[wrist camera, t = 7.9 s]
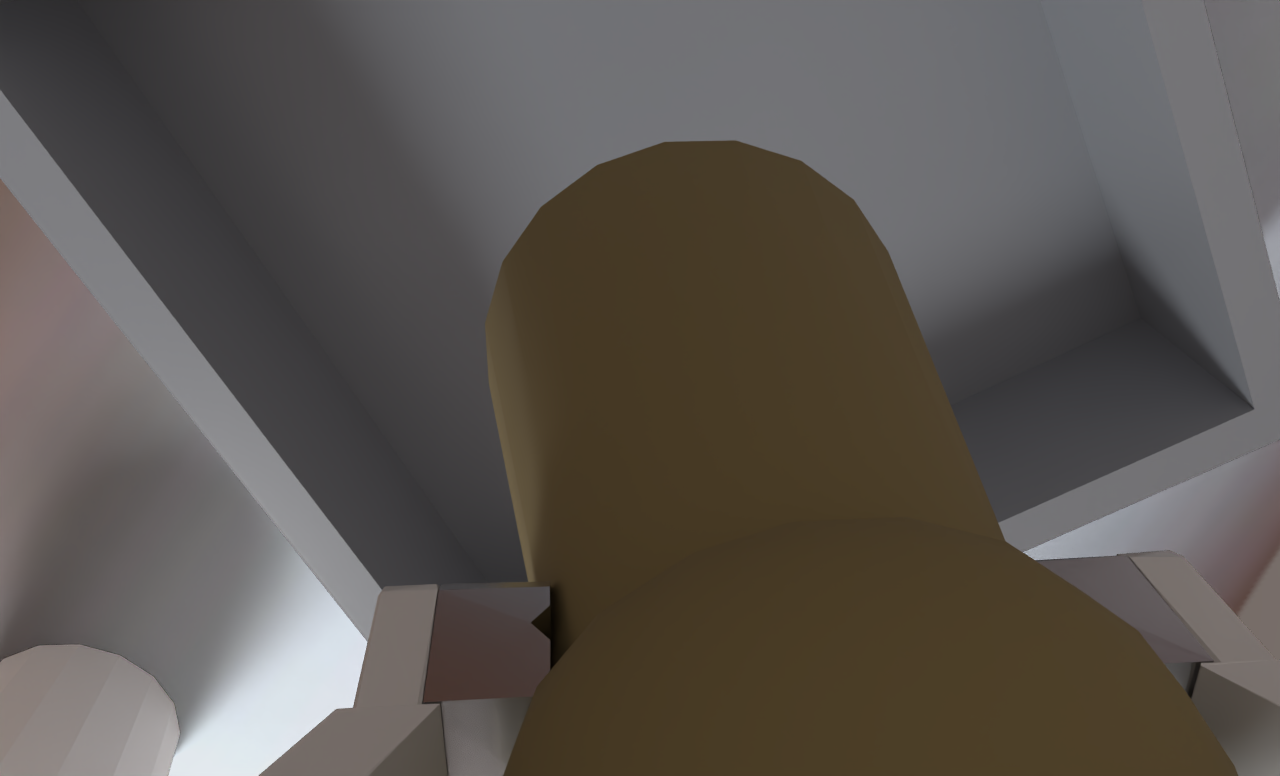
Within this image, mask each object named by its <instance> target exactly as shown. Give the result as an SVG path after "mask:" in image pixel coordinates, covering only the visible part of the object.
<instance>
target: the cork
mask: <svg viewBox="0 0 1280 776" xmlns="http://www.w3.org/2000/svg"><path fill="white" fill-rule="evenodd" d="M485 333H486V348H487V363H488V378H489V387H490V392H491V397H492V402H493V407H494V412H495V417H496V422H497V427H498V432H499V437H500V442H501V447H502V452H503V458H504V463H505V468H506V473H507V478H508V483H509V488H510V493H511V498H512V503H513V508H514V513H515V518H516V523H517V528H518V533H519V538H520V543H521V548H522V553H523V558H524V563H525V568H526V573H527V578H528V582H541V581H550V587H551V615H552V651H553V652H552V667H553V668H552V669H551V670H550V671H549V673H548V674H547V675H546V676H545V677H544V679H543V680H542V681H541V682H540V683H539V684H538V686H537V687H536V690H535V693H534V695H533V698H532V700H531V703H530V705H529V708H528V710H527V713H526V715H525V718H524V721H523V723H522V726H521V728H520V731H519V733H518V736H517V738H516V741H515V744H514V747H513V750H512V752H511V755H510V758H509V761H508V764H507V766H506V769H505V772H504V775H503V776H1238V773H1237V771H1236V768H1235V766H1234V764H1233V763H1232V761H1231V760H1230V758H1229V757H1228V755H1227V754H1226V752H1225V751H1224V749H1223V748H1222V746H1221V744H1220V743H1219V741H1218V740H1217V738H1216V737H1215V735H1214V734H1213V732H1212V731H1211V729H1210V728H1209V726H1208V725H1207V723H1206V722H1205V720H1204V719H1203V717H1202V716H1201V714H1200V712H1199V711H1198V709H1197V708H1196V706H1195V705H1194V703H1193V702H1192V700H1191V699H1190V697H1189V696H1188V694H1187V693H1186V691H1185V690H1184V688H1183V687H1182V686H1181V685H1180V683H1179V682H1178V681H1177V680H1176V678H1175V677H1174V676H1173V674H1172V673H1171V672H1170V671H1169V669H1168V668H1167V667H1166V666H1165V664H1164V663H1163V662H1162V660H1161V659H1160V658H1159V657H1158V655H1157V654H1156V653H1155V652H1154V650H1153V649H1152V648H1151V646H1150V645H1149V644H1148V643H1147V641H1146V640H1145V639H1144V638H1143V636H1142V635H1141V634H1140V632H1139V631H1138V630H1136V629H1135V628H1134V627H1132V626H1131V625H1129V624H1128V623H1126V622H1125V621H1124V620H1122V619H1121V618H1119V617H1118V616H1117V615H1115V614H1114V613H1112V612H1111V611H1110V610H1108V609H1107V608H1105V607H1104V606H1102V605H1101V604H1100V603H1098V602H1097V601H1095V600H1094V599H1093V598H1091V597H1090V596H1088V595H1087V594H1085V593H1084V592H1083V591H1081V590H1080V589H1078V588H1077V587H1075V586H1074V585H1072V584H1070V583H1069V582H1067V581H1066V580H1064V579H1063V578H1061V577H1060V576H1058V575H1057V574H1055V573H1054V572H1052V571H1050V570H1049V569H1047V568H1046V567H1044V566H1043V565H1041V564H1040V563H1038V562H1037V561H1035V560H1034V559H1032V558H1030V557H1029V556H1027V555H1026V554H1024V553H1023V552H1021V551H1020V550H1018V549H1017V548H1015V547H1014V546H1012V545H1010V544H1009V543H1007V542H1006V541H1005V539H1004V536H1003V534H1002V531H1001V529H1000V526H999V524H998V521H997V519H996V516H995V514H994V511H993V509H992V506H991V504H990V501H989V499H988V497H987V494H986V492H985V489H984V487H983V484H982V482H981V479H980V477H979V474H978V472H977V469H976V467H975V464H974V462H973V460H972V457H971V455H970V452H969V450H968V447H967V445H966V442H965V440H964V437H963V435H962V432H961V430H960V427H959V425H958V422H957V420H956V418H955V415H954V413H953V410H952V408H951V405H950V403H949V400H948V398H947V395H946V393H945V390H944V388H943V385H942V383H941V380H940V378H939V376H938V373H937V371H936V368H935V366H934V363H933V361H932V358H931V356H930V353H929V351H928V348H927V346H926V343H925V341H924V338H923V336H922V334H921V331H920V329H919V326H918V324H917V321H916V319H915V316H914V314H913V311H912V309H911V306H910V304H909V301H908V299H907V297H906V294H905V292H904V289H903V287H902V284H901V282H900V279H899V277H898V274H897V272H896V269H895V267H894V264H893V262H892V259H891V257H890V255H889V252H888V250H887V249H886V247H885V246H884V244H883V243H882V241H881V240H880V238H879V237H878V235H877V234H876V232H875V231H874V229H873V228H872V226H871V225H870V223H869V222H868V220H867V219H866V217H865V216H864V214H863V213H862V211H861V210H860V208H859V207H858V205H857V204H856V202H855V201H854V199H852V198H851V197H850V196H848V195H847V194H846V193H844V192H843V191H842V190H840V189H839V188H837V187H836V186H835V185H833V184H832V183H831V182H829V181H828V180H827V179H825V178H824V177H823V176H821V175H820V174H819V173H817V172H816V171H815V170H813V169H812V168H810V167H809V166H808V165H806V164H805V163H804V162H802V161H800V160H797V159H794V158H791V157H788V156H784V155H781V154H778V153H775V152H772V151H768V150H765V149H762V148H759V147H756V146H752V145H749V144H746V143H743V142H739V141H736V140H728V141H675V142H662V143H660V144H657V145H654V146H651V147H648V148H645V149H642V150H639V151H636V152H633V153H630V154H627V155H624V156H622V157H619V158H616V159H613V160H610V161H607V162H604V163H601V164H598V165H596V166H595V167H594V168H592V169H591V170H590V171H588V172H587V173H586V174H584V175H583V176H581V177H580V178H579V179H577V180H576V181H575V182H573V183H572V184H571V185H569V186H568V187H567V188H565V189H564V190H563V191H561V192H560V193H559V194H557V195H556V196H555V197H553V198H552V199H551V200H549V201H548V202H547V203H545V204H544V205H543V206H541V207H540V209H539V210H538V212H537V213H536V214H535V216H534V217H533V219H532V220H531V222H530V223H529V224H528V226H527V227H526V229H525V230H524V232H523V233H522V234H521V236H520V237H519V239H518V240H517V242H516V243H515V244H514V246H513V247H512V249H511V250H510V252H509V253H508V255H507V256H506V257H505V259H504V260H503V262H502V265H501V268H500V272H499V275H498V279H497V282H496V286H495V289H494V293H493V296H492V300H491V303H490V307H489V310H488V314H487V317H486V321H485Z"/></svg>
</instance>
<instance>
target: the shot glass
mask: <svg viewBox="0 0 1280 776" xmlns="http://www.w3.org/2000/svg"><path fill="white" fill-rule="evenodd" d="M179 736H180V729H179V724H178V719H177V714H176V710H175V705H174V703H173V701H172V700H171V699H170V697H169V696H168V695H167V693H166V692H165V691H164V690H163V688H162V687H161V686H160V684H159V683H158V682H157V680H156V679H155V678H154V677H153V676H152V675H151V674H149V673H147V672H146V671H144V670H143V669H141V668H139V667H138V666H136V665H135V664H133V663H132V662H130V661H128V660H127V659H125V658H124V657H122V656H120V655H117V654H114V653H110V652H106V651H103V650H99V649H95V648H91V647H88V646H84V645H80V644H71V645H38V646H36V647H33V648H30V649H28V650H25V651H22V652H20V653H17V654H15V655H12V656H9V657H7V658H4V659H3V660H2V661H1V662H0V776H168V775H169V771H170V768H171V764H172V761H173V757H174V753H175V750H176V746H177V743H178V739H179Z"/></svg>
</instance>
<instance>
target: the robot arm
mask: <svg viewBox="0 0 1280 776" xmlns="http://www.w3.org/2000/svg"><path fill="white" fill-rule="evenodd" d="M1035 561H1037V562H1038V563H1040V564H1041V565H1043V566H1044V567H1046V568H1047V569H1049V570H1050V571H1052V572H1054V573H1055V574H1057V575H1058V576H1060V577H1061V578H1063V579H1064V580H1066V581H1067V582H1069V583H1070V584H1072V585H1074V586H1075V587H1077V588H1078V589H1080V590H1081V591H1083V592H1084V593H1085V594H1087V595H1088V596H1090V597H1091V598H1093V599H1094V600H1095V601H1097V602H1098V603H1100V604H1101V605H1102V606H1104V607H1105V608H1107V609H1108V610H1110V611H1111V612H1112V613H1114V614H1115V615H1117V616H1118V617H1119V618H1121V619H1122V620H1124V621H1125V622H1126V623H1128V624H1129V625H1131V626H1132V627H1134V628H1135V629H1136V630H1138V631H1139V632H1140V634H1141V635H1142V636H1143V638H1144V639H1145V640H1146V641H1147V643H1148V644H1149V645H1150V646H1151V648H1152V649H1153V650H1154V652H1155V653H1156V654H1157V655H1158V657H1159V658H1160V659H1161V660H1162V662H1163V663H1164V664H1165V666H1166V667H1167V668H1168V669H1169V671H1170V672H1171V673H1172V674H1173V676H1174V677H1175V678H1176V680H1177V681H1178V682H1179V683H1180V685H1181V686H1182V687H1183V688H1184V690H1185V691H1186V693H1187V694H1188V696H1189V697H1190V699H1191V700H1192V702H1193V703H1194V705H1195V706H1196V708H1197V709H1198V711H1199V712H1200V714H1201V716H1202V717H1203V719H1204V720H1205V722H1206V723H1207V725H1208V726H1209V728H1210V729H1211V731H1212V732H1213V734H1214V735H1215V737H1216V738H1217V740H1218V741H1219V743H1220V744H1221V746H1222V748H1223V749H1224V751H1225V752H1226V754H1227V755H1228V757H1229V758H1230V760H1231V761H1232V763H1233V764H1234V766H1235V768H1236V771H1237V773H1238V776H1280V659H1279V660H1277V659H1276V658H1275V657H1274V656H1273V655H1272V654H1271V653H1270V652H1269V651H1268V650H1267V648H1266V647H1265V646H1264V645H1263V644H1262V643H1261V642H1260V641H1259V640H1258V638H1257V637H1256V636H1255V635H1254V634H1253V633H1252V632H1251V631H1250V630H1249V629H1248V627H1246V625H1245V624H1244V623H1243V622H1242V621H1241V620H1240V619H1239V617H1238V616H1237V615H1236V614H1235V613H1234V612H1233V611H1232V610H1231V609H1230V608H1229V606H1228V605H1227V604H1226V603H1225V602H1224V601H1223V600H1222V599H1221V598H1220V596H1219V595H1218V594H1217V593H1216V592H1215V591H1214V590H1213V589H1212V588H1211V587H1210V585H1209V584H1208V583H1207V582H1206V581H1205V580H1204V579H1203V578H1202V577H1201V575H1200V574H1199V573H1198V572H1197V571H1196V570H1195V569H1194V568H1193V567H1192V566H1191V564H1190V563H1189V562H1188V561H1187V560H1186V559H1185V558H1184V557H1183V556H1181V555H1179V554H1177V553H1175V552H1172V551H1170V550H1167V551H1154V552H1140V553H1127V554H1117V555H1116V556H1104V557H1086V558H1068V559H1050V560H1035ZM552 652H553V651H552V615H551V587H550V581H541V582H500V583H459V584H441V586H439V585H437V584H426V585H404V586H385V587H384V588H383V590H382V591H381V592H380V594H379V595H378V599H377V603H376V607H375V612H374V616H373V621H372V625H371V630H370V634H369V639H368V643H367V648H366V652H365V657H364V661H363V665H362V670H361V674H360V679H359V683H358V688H357V692H356V697H355V701H354V706H353V708H344V709H336V710H334V711H333V712H332V713H331V714H330V715H329V716H327V717H326V718H325V719H324V720H323V721H322V722H320V723H319V724H318V725H317V726H316V727H315V728H313V729H312V730H311V731H310V732H309V733H308V734H306V735H305V736H304V737H303V738H302V739H301V740H299V741H298V742H297V743H296V744H295V745H294V746H292V747H291V748H290V749H289V750H288V751H287V752H285V753H284V754H283V755H282V756H281V757H280V758H278V759H277V760H276V761H275V762H274V763H273V764H272V765H270V766H269V767H268V768H267V769H266V770H265V771H263V772H262V773H261V774H260V775H259V776H503V775H504V772H505V769H506V766H507V764H508V761H509V758H510V755H511V752H512V750H513V747H514V744H515V741H516V738H517V736H518V733H519V731H520V728H521V726H522V723H523V721H524V718H525V715H526V713H527V710H528V708H529V705H530V703H531V700H532V698H533V695H534V693H535V690H536V687H537V686H538V684H539V683H540V682H541V681H542V680H543V679H544V677H545V676H546V675H547V674H548V673H549V671H550V670H551V669H552V668H553V667H552Z"/></svg>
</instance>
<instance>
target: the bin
mask: <svg viewBox="0 0 1280 776" xmlns="http://www.w3.org/2000/svg"><path fill="white" fill-rule="evenodd" d="M728 140H736V141H739V142H743V143H746V144H749V145H752V146H756V147H759V148H762V149H765V150H768V151H772V152H775V153H778V154H781V155H784V156H788V157H791V158H794V159H797V160H800V161H802V162H804V163H805V164H806V165H808V166H809V167H810V168H812V169H813V170H815V171H816V172H817V173H819V174H820V175H821V176H823V177H824V178H825V179H827V180H828V181H829V182H831V183H832V184H833V185H835V186H836V187H837V188H839V189H840V190H842V191H843V192H844V193H846V194H847V195H848V196H850V197H851V198H852V199H854V201H855V202H856V204H857V205H858V207H859V208H860V210H861V211H862V213H863V214H864V216H865V217H866V219H867V220H868V222H869V223H870V225H871V226H872V228H873V229H874V231H875V232H876V234H877V235H878V237H879V238H880V240H881V241H882V243H883V244H884V246H885V247H886V249H887V250H888V252H889V255H890V257H891V259H892V262H893V264H894V267H895V269H896V272H897V274H898V277H899V279H900V282H901V284H902V287H903V289H904V292H905V294H906V297H907V299H908V301H909V304H910V306H911V309H912V311H913V314H914V316H915V319H916V321H917V324H918V326H919V329H920V331H921V334H922V336H923V338H924V341H925V343H926V346H927V348H928V351H929V353H930V356H931V358H932V361H933V363H934V366H935V368H936V371H937V373H938V376H939V378H940V380H941V383H942V385H943V388H944V390H945V393H946V395H947V398H948V400H949V403H950V405H951V408H952V410H953V413H954V415H955V418H956V420H957V422H958V425H959V427H960V430H961V432H962V435H963V437H964V440H965V442H966V445H967V447H968V450H969V452H970V455H971V457H972V460H973V462H974V464H975V467H976V469H977V472H978V474H979V477H980V479H981V482H982V484H983V487H984V489H985V492H986V494H987V497H988V499H989V501H990V504H991V506H992V509H993V511H994V514H995V516H996V519H997V521H998V524H999V526H1000V529H1001V531H1002V534H1003V536H1004V539H1005V541H1006V542H1007V543H1009V544H1010V545H1012V546H1014V547H1015V548H1017V549H1018V550H1020V551H1021V552H1024V551H1027V550H1029V549H1031V548H1033V547H1036V546H1038V545H1040V544H1043V543H1045V542H1047V541H1049V540H1052V539H1054V538H1056V537H1059V536H1061V535H1063V534H1065V533H1068V532H1070V531H1072V530H1075V529H1077V528H1079V527H1081V526H1084V525H1086V524H1088V523H1091V522H1093V521H1095V520H1097V519H1100V518H1102V517H1104V516H1107V515H1109V514H1111V513H1113V512H1116V511H1118V510H1120V509H1123V508H1125V507H1127V506H1129V505H1132V504H1134V503H1136V502H1139V501H1141V500H1143V499H1145V498H1148V497H1150V496H1152V495H1155V494H1157V493H1159V492H1161V491H1164V490H1166V489H1168V488H1171V487H1173V486H1175V485H1177V484H1180V483H1182V482H1184V481H1186V480H1189V479H1191V478H1193V477H1196V476H1198V475H1200V474H1202V473H1205V472H1207V471H1209V470H1212V469H1214V468H1216V467H1218V466H1221V465H1223V464H1225V463H1228V462H1230V461H1232V460H1234V459H1237V458H1239V457H1241V456H1244V455H1246V454H1248V453H1250V452H1253V451H1255V450H1257V449H1260V448H1262V447H1264V446H1266V445H1269V444H1271V443H1273V442H1276V441H1278V440H1280V301H1279V297H1278V293H1277V289H1276V285H1275V281H1274V277H1273V273H1272V269H1271V265H1270V261H1269V257H1268V253H1267V249H1266V245H1265V241H1264V238H1263V234H1262V230H1261V226H1260V222H1259V218H1258V214H1257V210H1256V206H1255V202H1254V198H1253V194H1252V190H1251V186H1250V182H1249V178H1248V174H1247V170H1246V166H1245V162H1244V158H1243V154H1242V150H1241V146H1240V142H1239V138H1238V135H1237V131H1236V127H1235V123H1234V119H1233V115H1232V111H1231V107H1230V103H1229V99H1228V95H1227V91H1226V87H1225V83H1224V79H1223V75H1222V71H1221V67H1220V63H1219V59H1218V55H1217V51H1216V47H1215V43H1214V39H1213V35H1212V32H1211V28H1210V24H1209V20H1208V16H1207V12H1206V8H1205V4H1204V0H0V178H1V180H2V181H3V182H4V184H5V185H6V186H7V187H8V189H9V190H10V191H11V192H12V194H13V195H14V196H15V197H16V199H17V200H18V201H19V202H20V204H21V205H22V206H23V208H24V209H25V210H26V211H27V213H28V214H29V215H30V216H31V218H32V219H33V220H34V221H35V223H36V224H37V225H38V226H39V228H40V229H41V230H42V231H43V233H44V234H45V235H46V237H47V238H48V239H49V240H50V242H51V243H52V244H53V245H54V247H55V248H56V249H57V250H58V252H59V253H60V254H61V255H62V257H63V258H64V259H65V261H66V262H67V263H68V264H69V266H70V267H71V268H72V269H73V271H74V272H75V273H76V274H77V276H78V277H79V278H80V279H81V281H82V282H83V283H84V284H85V286H86V287H87V288H88V290H89V291H90V292H91V293H92V295H93V296H94V297H95V298H96V300H97V301H98V302H99V303H100V305H101V306H102V307H103V308H104V310H105V311H106V312H107V314H108V315H109V316H110V317H111V319H112V320H113V321H114V322H115V324H116V325H117V326H118V327H119V329H120V330H121V331H122V332H123V334H124V335H125V336H126V338H127V339H128V340H129V341H130V343H131V344H132V345H133V346H134V348H135V349H136V350H137V351H138V353H139V354H140V355H141V356H142V358H143V359H144V360H145V361H146V363H147V364H148V365H149V367H150V368H151V369H152V370H153V372H154V373H155V374H156V375H157V377H158V378H159V379H160V380H161V382H162V383H163V384H164V385H165V387H166V388H167V389H168V391H169V392H170V393H171V394H172V396H173V397H174V398H175V399H176V401H177V402H178V403H179V404H180V406H181V407H182V408H183V409H184V411H185V412H186V413H187V414H188V416H189V417H190V418H191V420H192V421H193V422H194V423H195V425H196V426H197V427H198V428H199V430H200V431H201V432H202V433H203V435H204V436H205V437H206V438H207V440H208V441H209V442H210V444H211V445H212V446H213V447H214V449H215V450H216V451H217V452H218V454H219V455H220V456H221V457H222V459H223V460H224V461H225V462H226V464H227V465H228V466H229V467H230V469H231V470H232V471H233V473H234V474H235V475H236V476H237V478H238V479H239V480H240V481H241V483H242V484H243V485H244V486H245V488H246V489H247V490H248V491H249V493H250V494H251V495H252V497H253V498H254V499H255V500H256V502H257V503H258V504H259V505H260V507H261V508H262V509H263V510H264V512H265V513H266V514H267V515H268V517H269V518H270V519H271V520H272V522H273V523H274V524H275V526H276V527H277V528H278V529H279V531H280V532H281V533H282V534H283V536H284V537H285V538H286V539H287V541H288V542H289V543H290V544H291V546H292V547H293V548H294V550H295V551H296V552H297V553H298V555H299V556H300V557H301V558H302V560H303V561H304V562H305V563H306V565H307V566H308V567H309V568H310V570H311V571H312V572H313V573H314V575H315V576H316V577H317V579H318V580H319V581H320V582H321V584H322V585H323V586H324V587H325V589H326V590H327V591H328V592H329V594H330V595H331V596H332V597H333V599H334V600H335V601H336V603H337V604H338V605H339V606H340V608H341V609H342V610H343V611H344V613H345V614H346V615H347V616H348V618H349V619H350V620H351V621H352V623H353V624H354V625H355V627H356V628H357V629H358V630H359V632H360V633H361V634H362V635H363V637H364V638H365V639H366V640H367V642H368V639H369V634H370V630H371V625H372V621H373V616H374V612H375V607H376V603H377V599H378V595H379V594H380V592H381V591H382V590H383V588H384V587H385V586H404V585H426V584H437V585H439V586H441V584H459V583H500V582H528V578H527V573H526V568H525V563H524V558H523V553H522V548H521V543H520V538H519V533H518V528H517V523H516V518H515V513H514V508H513V503H512V498H511V493H510V488H509V483H508V478H507V473H506V468H505V463H504V458H503V452H502V447H501V442H500V437H499V432H498V427H497V422H496V417H495V412H494V407H493V402H492V397H491V392H490V387H489V378H488V363H487V348H486V333H485V321H486V317H487V314H488V310H489V307H490V303H491V300H492V296H493V293H494V289H495V286H496V282H497V279H498V275H499V272H500V268H501V265H502V262H503V260H504V259H505V257H506V256H507V255H508V253H509V252H510V250H511V249H512V247H513V246H514V244H515V243H516V242H517V240H518V239H519V237H520V236H521V234H522V233H523V232H524V230H525V229H526V227H527V226H528V224H529V223H530V222H531V220H532V219H533V217H534V216H535V214H536V213H537V212H538V210H539V209H540V207H541V206H543V205H544V204H545V203H547V202H548V201H549V200H551V199H552V198H553V197H555V196H556V195H557V194H559V193H560V192H561V191H563V190H564V189H565V188H567V187H568V186H569V185H571V184H572V183H573V182H575V181H576V180H577V179H579V178H580V177H581V176H583V175H584V174H586V173H587V172H588V171H590V170H591V169H592V168H594V167H595V166H596V165H598V164H601V163H604V162H607V161H610V160H613V159H616V158H619V157H622V156H624V155H627V154H630V153H633V152H636V151H639V150H642V149H645V148H648V147H651V146H654V145H657V144H660V143H662V142H675V141H728Z"/></svg>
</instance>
